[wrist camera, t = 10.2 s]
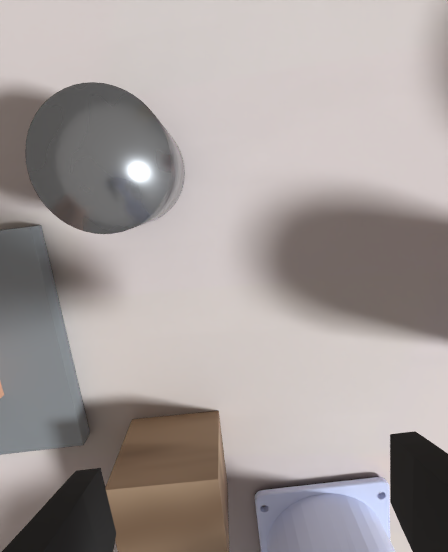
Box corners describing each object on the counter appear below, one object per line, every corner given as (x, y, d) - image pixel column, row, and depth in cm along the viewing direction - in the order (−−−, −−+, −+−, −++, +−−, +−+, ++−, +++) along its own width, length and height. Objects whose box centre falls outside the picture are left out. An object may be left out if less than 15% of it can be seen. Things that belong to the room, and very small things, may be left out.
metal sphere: (191, 216, 17) (181, 224, 13) (93, 229, 17) (44, 241, 13) (176, 110, 16) (158, 73, 11) (71, 123, 16) (9, 92, 11)
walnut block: (227, 482, 21) (229, 568, 16) (145, 490, 21) (123, 578, 16) (218, 409, 20) (218, 479, 15) (132, 418, 20) (104, 490, 15)
